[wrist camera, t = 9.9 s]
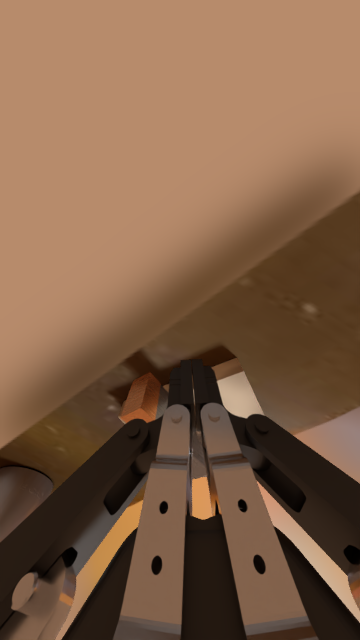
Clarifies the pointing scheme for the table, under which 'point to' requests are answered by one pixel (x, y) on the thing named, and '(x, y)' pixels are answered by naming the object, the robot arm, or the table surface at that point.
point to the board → (231, 390)
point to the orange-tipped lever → (158, 413)
